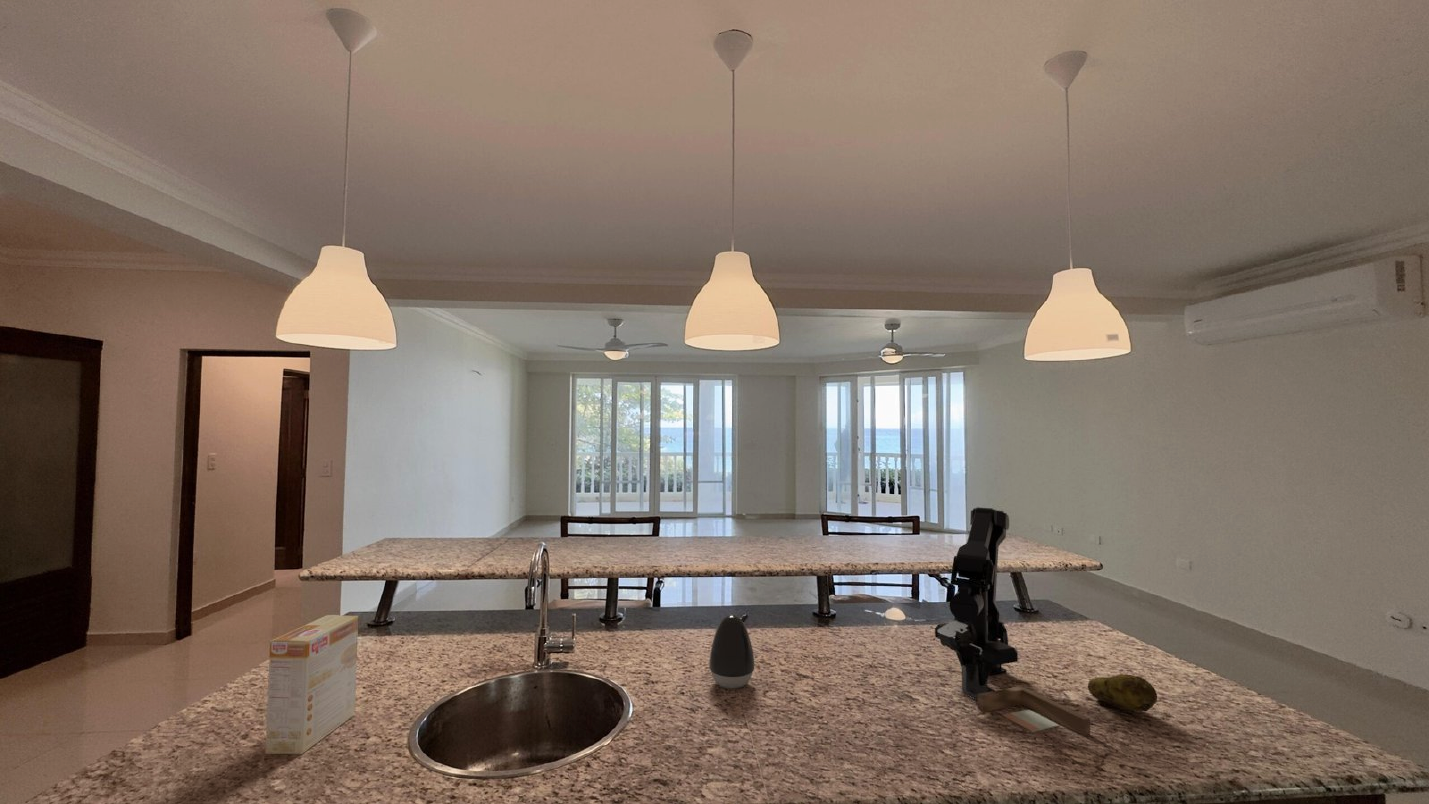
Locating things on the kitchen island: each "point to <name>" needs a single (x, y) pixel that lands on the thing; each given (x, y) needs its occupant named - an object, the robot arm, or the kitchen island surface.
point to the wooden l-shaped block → (1034, 707)
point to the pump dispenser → (732, 653)
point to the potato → (1124, 692)
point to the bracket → (972, 681)
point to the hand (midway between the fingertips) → (974, 681)
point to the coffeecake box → (311, 683)
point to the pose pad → (1030, 720)
